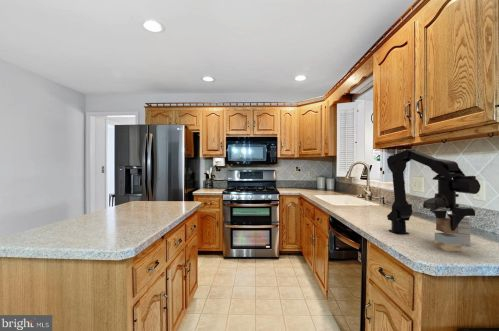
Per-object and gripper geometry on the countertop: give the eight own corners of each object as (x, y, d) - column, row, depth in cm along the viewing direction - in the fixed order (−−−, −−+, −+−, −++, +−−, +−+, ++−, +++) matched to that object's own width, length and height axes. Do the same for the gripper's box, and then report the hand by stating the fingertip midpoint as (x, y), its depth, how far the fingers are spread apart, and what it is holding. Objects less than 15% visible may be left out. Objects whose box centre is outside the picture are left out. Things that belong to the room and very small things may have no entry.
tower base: (434, 246, 102) (434, 239, 102) (447, 246, 102) (447, 239, 102) (447, 251, 96) (446, 244, 96) (461, 251, 96) (461, 243, 96)
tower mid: (434, 239, 102) (434, 232, 102) (448, 239, 102) (447, 232, 102) (447, 244, 96) (447, 237, 96) (461, 244, 96) (461, 236, 96)
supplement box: (447, 239, 111) (447, 211, 111) (469, 242, 106) (469, 213, 106) (448, 243, 105) (447, 214, 105) (470, 246, 101) (470, 216, 101)
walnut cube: (436, 229, 101) (436, 218, 101) (447, 229, 102) (447, 217, 102) (446, 233, 96) (446, 220, 96) (458, 232, 97) (458, 220, 97)
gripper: (411, 189, 108) (411, 223, 108) (448, 194, 89) (448, 236, 89) (434, 188, 109) (435, 223, 109) (476, 193, 90) (476, 235, 90)
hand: (447, 228), depth 99 cm, fingers closed on walnut cube, 5 cm apart
